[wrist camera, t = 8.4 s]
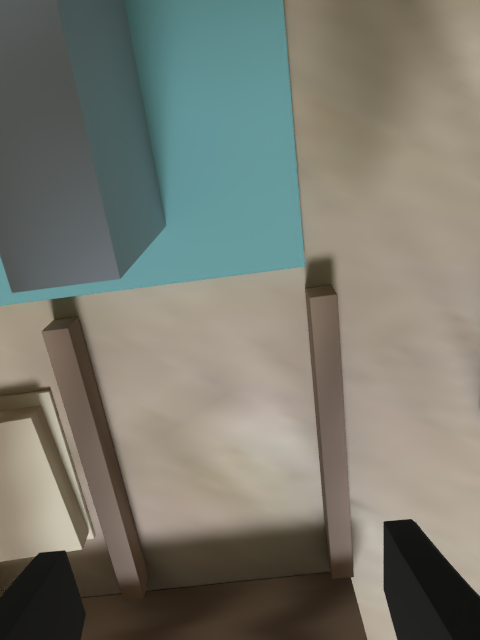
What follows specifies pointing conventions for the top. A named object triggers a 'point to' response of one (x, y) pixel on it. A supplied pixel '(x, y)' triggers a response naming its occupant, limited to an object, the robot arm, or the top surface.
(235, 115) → the mat
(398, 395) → the top surface
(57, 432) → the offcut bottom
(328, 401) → the rack
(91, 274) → the block
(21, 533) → the offcut top
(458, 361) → the top surface
